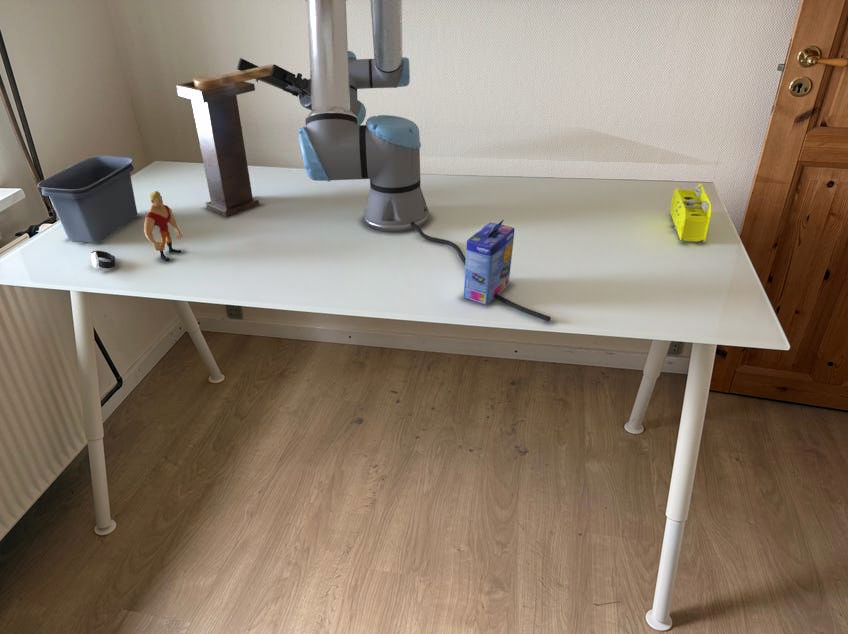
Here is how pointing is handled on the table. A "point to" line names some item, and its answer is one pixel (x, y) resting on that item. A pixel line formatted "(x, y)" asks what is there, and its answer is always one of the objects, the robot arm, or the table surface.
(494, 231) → the ink cartridge box
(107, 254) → the watch
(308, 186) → the table surface
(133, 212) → the storage bin
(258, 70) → the wooden spoon
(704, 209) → the yellow toy chassis
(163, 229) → the action figure
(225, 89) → the pedestal lectern
